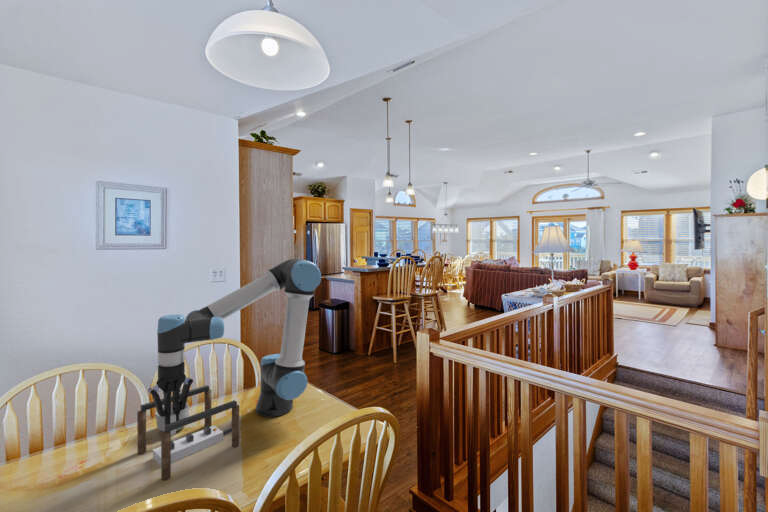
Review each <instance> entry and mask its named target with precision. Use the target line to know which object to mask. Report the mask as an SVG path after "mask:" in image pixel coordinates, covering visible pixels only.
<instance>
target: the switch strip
mask: <svg viewBox="0 0 768 512" xmlns="http://www.w3.org/2000/svg"><path fill="white" fill-rule="evenodd" d="M230 433H232V426H231V427H228V428H227V429H224V430H221V429H219V428H218V427H217V426H216V425H212V426H211V427H208V426H207V427H205V426H204V427H203V429H201V430H199V431H196V432H193V433H191V432H190V433H186V434H185V436H184V437H180V438H179V439H176V440H173V441H172V440H171V464H173V463H174V462H177V461H179V460H181V459H184V458H186V457H188V456H191V455H193V454H195V453H197V452H201V451H202V450H204V449H207V448H209V447H210V446H213V445H215V444H218V443H220V442H222V441H224V436H225V435H228V434H230ZM152 459H153V460H154V461H155V463H156V464H157V465H158V466H159V467H160V468H161V446H159V447H157V448H154V449H152Z"/></svg>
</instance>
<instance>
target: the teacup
mask: <svg viewBox="0 0 768 512" xmlns="http://www.w3.org/2000/svg"><path fill="white" fill-rule="evenodd" d="M189 407H190V405H189V403H188V401H187V402H186V406H185V409H184V410H181V411H180V414H179V420H181V419H184V418H187V417H189V416H190V413H189ZM163 410H164V406H163ZM171 412H173V410H172V403H171ZM155 421H156V427H157V429H158V430H159V431H160V432H161V433H162V432H163V431H165V416H163V417H161V416H160V415H159V414H158V413H157V410H156V411H155ZM184 427H185V426H183V427H180V428H177V429H176V432H179V431H180V430H182V429H183V428H184Z"/></svg>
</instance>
